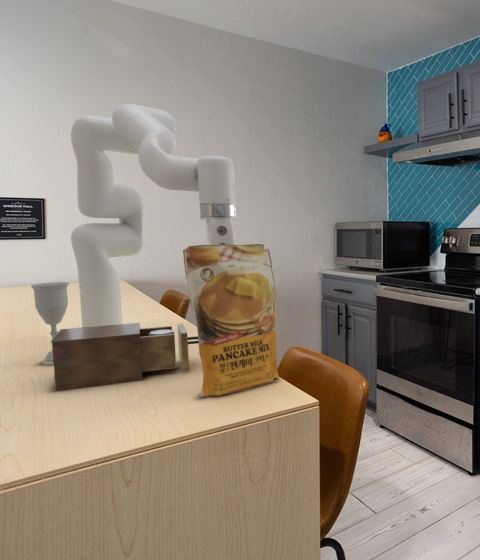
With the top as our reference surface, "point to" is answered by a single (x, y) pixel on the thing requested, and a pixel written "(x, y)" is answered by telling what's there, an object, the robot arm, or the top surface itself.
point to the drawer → (164, 348)
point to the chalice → (51, 307)
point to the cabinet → (97, 355)
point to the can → (162, 332)
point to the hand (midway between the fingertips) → (222, 294)
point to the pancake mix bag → (233, 315)
